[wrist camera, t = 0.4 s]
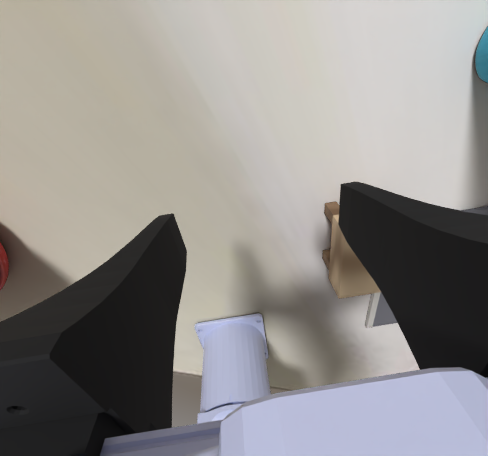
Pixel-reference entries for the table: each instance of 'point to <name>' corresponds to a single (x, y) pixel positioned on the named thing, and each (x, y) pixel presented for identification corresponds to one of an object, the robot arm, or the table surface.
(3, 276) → the plant pot
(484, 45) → the tube
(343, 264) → the stool
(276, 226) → the table surface
